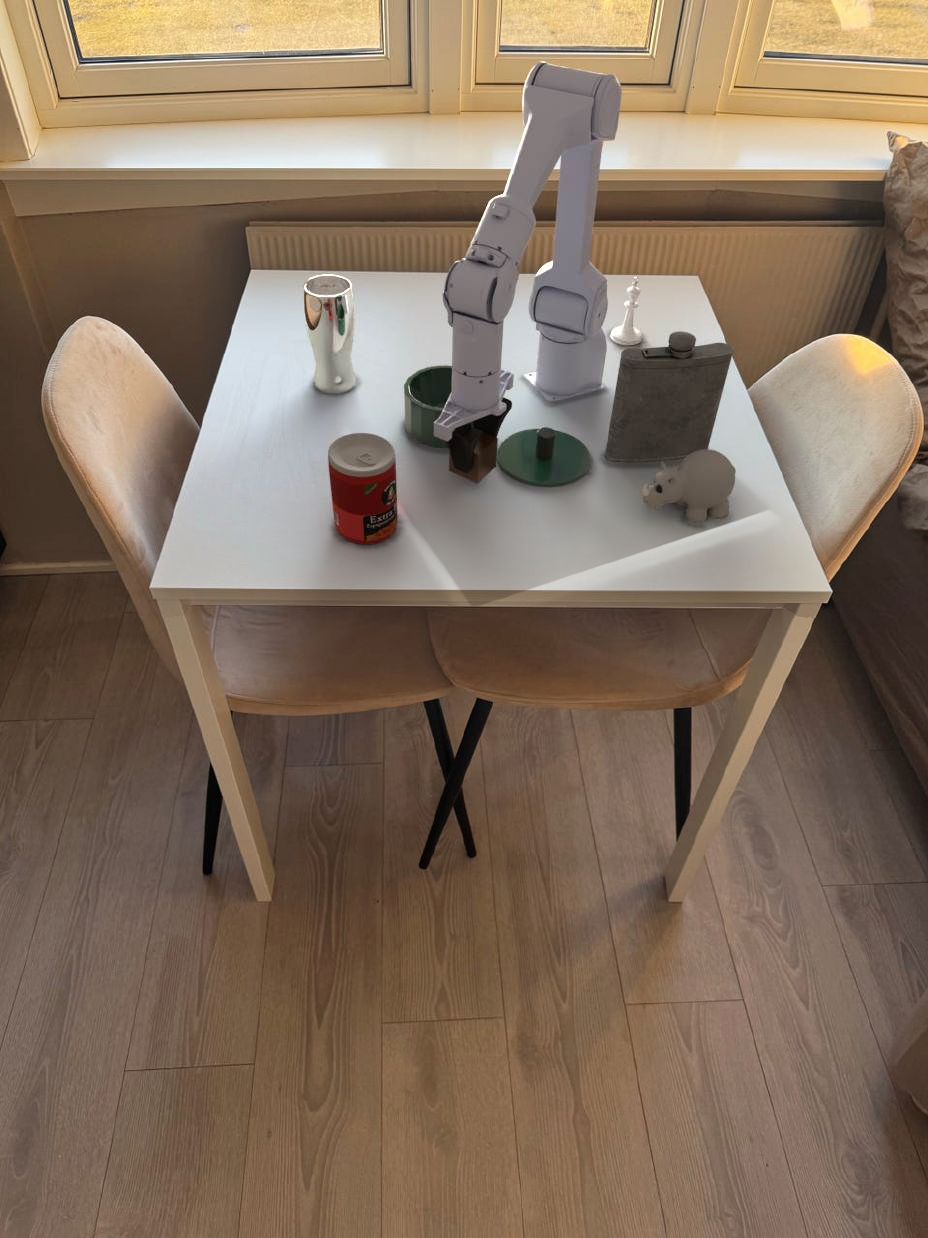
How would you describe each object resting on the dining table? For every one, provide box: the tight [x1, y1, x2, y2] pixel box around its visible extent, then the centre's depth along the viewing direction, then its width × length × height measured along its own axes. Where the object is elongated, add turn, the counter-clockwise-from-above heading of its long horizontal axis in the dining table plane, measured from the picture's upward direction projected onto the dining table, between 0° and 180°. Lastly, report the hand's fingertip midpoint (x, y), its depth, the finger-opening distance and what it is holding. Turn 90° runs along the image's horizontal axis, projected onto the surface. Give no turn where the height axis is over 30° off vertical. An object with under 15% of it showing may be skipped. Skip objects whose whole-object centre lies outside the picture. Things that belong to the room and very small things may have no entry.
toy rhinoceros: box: [641, 448, 736, 524], centre depth 114 cm, size 7×12×8 cm, turn 105°
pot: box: [403, 364, 473, 450], centre depth 127 cm, size 11×12×6 cm
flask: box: [604, 330, 734, 464], centre depth 119 cm, size 4×14×18 cm, turn 100°
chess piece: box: [610, 276, 642, 346], centre depth 144 cm, size 5×5×10 cm
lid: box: [497, 426, 592, 488], centre depth 122 cm, size 12×12×5 cm
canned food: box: [327, 432, 398, 545], centre depth 110 cm, size 8×8×11 cm
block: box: [448, 432, 499, 484], centre depth 117 cm, size 4×4×4 cm
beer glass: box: [302, 274, 357, 395], centre depth 131 cm, size 7×7×15 cm
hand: (472, 459), depth 118 cm, fingers closed on block, 4 cm apart
